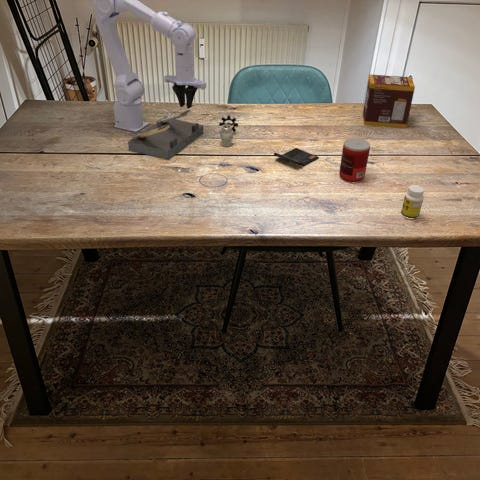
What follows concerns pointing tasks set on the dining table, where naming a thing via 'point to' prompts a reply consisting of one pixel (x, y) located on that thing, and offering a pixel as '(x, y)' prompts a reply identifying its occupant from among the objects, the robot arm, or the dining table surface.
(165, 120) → the steel strap
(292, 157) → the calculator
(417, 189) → the supplement bottle
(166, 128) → the brass strap
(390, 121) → the supplement box
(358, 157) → the canned food
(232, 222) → the dining table surface
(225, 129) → the valve
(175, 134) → the grey flat block
